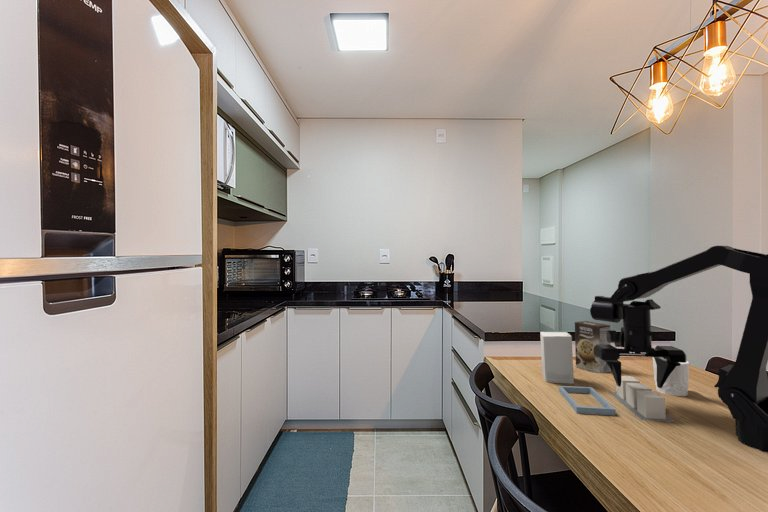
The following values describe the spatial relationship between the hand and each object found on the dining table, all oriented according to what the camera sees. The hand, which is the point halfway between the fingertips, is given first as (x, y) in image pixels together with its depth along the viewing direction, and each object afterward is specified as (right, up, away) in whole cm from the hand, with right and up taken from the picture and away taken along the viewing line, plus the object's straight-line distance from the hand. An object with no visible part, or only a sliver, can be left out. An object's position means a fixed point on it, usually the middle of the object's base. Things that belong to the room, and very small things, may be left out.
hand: (638, 386), depth 88 cm
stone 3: (-1, -5, -5) cm, 7 cm away
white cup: (+16, -6, +9) cm, 19 cm away
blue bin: (-12, -6, +3) cm, 14 cm away
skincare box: (-11, -7, +20) cm, 24 cm away
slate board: (0, -6, 0) cm, 6 cm away
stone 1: (+1, -5, +5) cm, 7 cm away
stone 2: (0, -5, 0) cm, 5 cm away
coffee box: (+8, -6, +33) cm, 34 cm away
